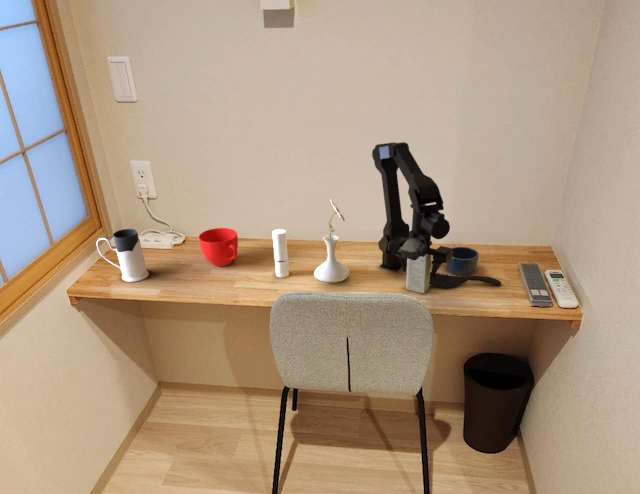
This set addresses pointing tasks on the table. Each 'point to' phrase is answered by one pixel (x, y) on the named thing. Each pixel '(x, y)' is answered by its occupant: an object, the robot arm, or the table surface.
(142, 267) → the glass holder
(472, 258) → the crock
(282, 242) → the tube
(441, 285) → the hairbrush
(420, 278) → the cosmetic box
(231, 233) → the ceramic cup
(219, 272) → the table surface
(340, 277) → the flower in vase
